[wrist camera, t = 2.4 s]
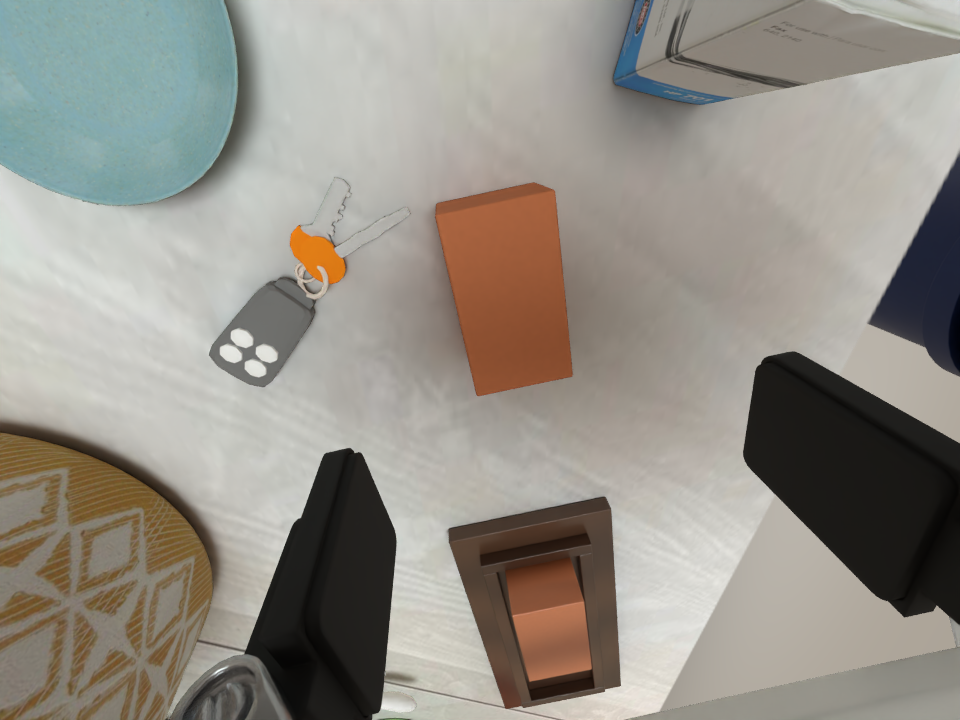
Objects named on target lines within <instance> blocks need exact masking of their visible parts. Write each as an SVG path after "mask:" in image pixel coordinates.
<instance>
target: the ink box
mask: <svg viewBox="0 0 960 720" xmlns="http://www.w3.org/2000/svg"><path fill="white" fill-rule="evenodd" d="M957 53H960V0H636V2H635V5H634V9H633V12H632V16H631V19H630V23H629V26H628V30H627V33H626V36H625V40H624V43H623V47H622V50H621V54H620V57H619V60H618V64H617V67H616V71H615V74H614V78H613V80H614V82H615V84H616V85H619V86H622V87H626V88H629V89H633V90H636V91H640V92H644V93H647V94H651V95H655V96H659V97H663V98H667V99H671V100H676V101H681V102H686V103H693V104H699V105H700V104H708V103H714V102H719V101H723V100H728V99H733V98H739V97H744V96H749V95H754V94H759V93H764V92H769V91H774V90H779V89H784V88H790V87H795V86H800V85H806V84H810V83H815V82H819V81H824V80H829V79H834V78H838V77H843V76H848V75H853V74H858V73H863V72H868V71H872V70H877V69H881V68H886V67H891V66H896V65H902V64H908V63H912V62H917V61H922V60H927V59H932V58H937V57H942V56H947V55H952V54H957Z"/></svg>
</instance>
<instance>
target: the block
mask: <svg viewBox="0 0 960 720" xmlns="http://www.w3.org/2000/svg"><path fill="white" fill-rule="evenodd" d="M435 218H436V223H437V227H438V231H439V236H440V240H441V244H442V249H443V253H444V257H445V261H446V266H447V270H448V274H449V279H450V283H451V287H452V292H453V296H454V300H455V304H456V309H457V313H458V317H459V322H460V326H461V330H462V335H463V339H464V343H465V348H466V352H467V356H468V360H469V365H470V369H471V373H472V378H473V382H474V386H475V391H476V395H477V396H482V395H486V394H491V393H496V392H501V391H506V390H510V389H515V388H520V387H525V386H529V385H534V384H539V383H544V382H549V381H553V380H558V379H563V378H568V377H572V375H573V373H572V362H571V352H570V341H569V331H568V321H567V310H566V300H565V290H564V279H563V269H562V259H561V248H560V238H559V228H558V217H557V207H556V197H555V191H554V190H553V189H550V188H548V187H545V186H542V185H540V184H537V183H534V182H533V183H529V184H524V185H520V186H515V187H510V188H506V189H501V190H496V191H492V192H487V193H482V194H478V195H473V196H468V197H464V198H459V199H455V200H450V201H445V202H441V203H437V204H436V214H435Z"/></svg>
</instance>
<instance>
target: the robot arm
mask: <svg viewBox="0 0 960 720" xmlns="http://www.w3.org/2000/svg"><path fill="white" fill-rule="evenodd" d="M743 456H744V460H745V462H746V464H747V466H748V467H749V468H750V469H751V470H752V471H753V472H754V473H755V474H756V475H757V476H758V477H759V478H760V479H761V480H762V481H763V482H764V483H765V484H766V485H767V486H768V487H769V488H770V489H771V490H772V492H773V493H774V494H775V495H776V496H777V497H779V499H780V500H781V501H783V503H784V504H785V505H786V506H787V507H788V508H789V509H790V510H791V511H792V512H793V513H794V514H795V515H796V516H797V517H798V518H799V519H800V520H801V521H802V522H803V523H804V524H805V525H806V526H807V527H808V528H809V529H810V530H811V531H812V532H813V533H814V534H815V535H816V536H817V537H818V538H819V539H820V540H821V541H822V542H823V543H824V544H825V545H826V546H827V547H828V548H829V549H830V550H831V551H832V552H833V553H834V554H835V555H836V556H837V557H838V558H839V559H840V560H841V561H842V562H843V563H844V564H845V565H846V567H848V568H849V570H851V572H852V573H853V574H854V575H855V576H856V577H858V579H859V580H860V581H861V582H862V583H863V584H865V586H866V587H867V588H868V589H869V590H870V591H871V592H872V593H874V594H875V595H876V596H877V597H879V598H880V599H882V600H886V601H888V602H890V603H891V604H892V606H894V608H895V609H897V611H898V612H900V613H901V614H902V615H903V616H904V617H909V616H913V615H918V614H922V613H927V612H931V611H934V609H935V607H936V605H937V606H938V607H939V608H941V609H942V610H943V611H944V612H945V613H946V614H947V615H948V616H949V618H950V623H951V626H952V631H953V635H954V639H955V643H956V648H952V649H947V650H942V651H938V652H933V653H929V654H924V655H919V656H914V657H910V658H905V659H900V660H896V661H891V662H886V663H881V664H877V665H872V666H867V667H863V668H858V669H853V670H849V671H844V672H840V673H835V674H830V675H826V676H821V677H816V678H812V679H807V680H803V681H798V682H794V683H789V684H784V685H780V686H775V687H771V688H766V689H762V690H757V691H752V692H748V693H744V694H739V695H734V696H730V697H725V698H721V699H716V700H712V701H707V702H703V703H698V704H693V705H689V706H684V707H680V708H675V709H671V710H667V711H662V712H657V713H653V714H648V715H644V716H639V717H635V718H630V719H626V720H960V443H958V442H956V441H954V440H952V439H951V438H949V437H947V436H946V435H944V434H942V433H940V432H938V431H937V430H935V429H933V428H931V427H930V426H928V425H926V424H924V423H922V422H921V421H919V420H917V419H915V418H914V417H912V416H910V415H908V414H907V413H905V412H903V411H901V410H899V409H898V408H896V407H894V406H892V405H891V404H889V403H887V402H885V401H883V400H882V399H880V398H878V397H876V396H875V395H873V394H871V393H869V392H867V391H865V390H864V389H862V388H860V387H858V386H857V385H855V384H853V383H851V382H850V381H848V380H846V379H844V378H842V377H841V376H839V375H837V374H835V373H834V372H832V371H830V370H828V369H826V368H825V367H823V366H821V365H819V364H818V363H816V362H814V361H812V360H810V359H809V358H807V357H805V356H803V355H802V354H800V353H797V352H786V353H781V354H777V355H772V356H768V357H766V358H764V359H763V360H762V362H761V365H759V366H758V367H757V368H756V371H755V377H754V384H753V391H752V397H751V404H750V410H749V417H748V424H747V430H746V437H745V444H744V450H743ZM395 556H396V534H395V530H394V527H393V525H392V522H391V520H390V518H389V515H388V513H387V511H386V508H385V506H384V504H383V501H382V499H381V497H380V494H379V492H378V490H377V487H376V485H375V483H374V480H373V478H372V476H371V473H370V471H369V469H368V466H367V464H366V462H365V459H364V457H363V455H362V454H361V453H360V452H358V453H354V451H353V450H352V449H351V448H347V449H342V450H338V451H333V452H329V453H326V454H324V456H323V458H322V461H321V463H320V466H319V469H318V472H317V475H316V477H315V480H314V483H313V486H312V489H311V492H310V494H309V497H308V500H307V503H306V506H305V508H304V511H303V514H302V517H301V518H300V519H298V520H297V521H296V522H294V524H293V526H292V528H291V530H290V533H289V536H288V538H287V541H286V544H285V546H284V549H283V552H282V554H281V557H280V560H279V563H278V565H277V568H276V571H275V573H274V576H273V579H272V581H271V584H270V587H269V589H268V592H267V595H266V597H265V600H264V603H263V606H262V608H261V611H260V614H259V616H258V619H257V622H256V624H255V627H254V630H253V632H252V635H251V638H250V640H249V643H248V646H247V649H246V651H245V654H244V655H237V656H233V657H231V658H228V659H226V660H224V661H221V662H219V663H218V664H216V665H215V666H214V667H212V668H211V669H209V670H208V671H207V672H205V673H204V674H203V675H202V676H201V677H200V678H199V679H198V680H197V681H196V682H195V683H194V684H193V685H192V686H191V687H190V688H189V689H188V691H187V692H186V693H185V695H184V696H183V697H182V699H181V700H180V701H179V703H178V704H177V705H176V707H175V709H174V711H173V713H172V715H171V717H170V719H169V720H372V714H376V713H379V711H380V709H381V705H382V698H383V687H384V676H385V665H386V654H387V643H388V632H389V621H390V610H391V599H392V589H393V578H394V567H395Z"/></svg>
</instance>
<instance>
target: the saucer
mask: <svg viewBox="0 0 960 720" xmlns="http://www.w3.org/2000/svg"><path fill="white" fill-rule="evenodd" d="M237 94H238V68H237V54H236V46H235V41H234V35H233V31H232V27H231V23H230V19H229V15H228V12H227V8H226V5H225V2H224V0H0V164H1V165H3V166H4V167H6V168H8V169H9V170H11V171H12V172H14V173H16V174H18V175H20V176H21V177H23V178H25V179H27V180H29V181H31V182H33V183H35V184H37V185H39V186H42V187H44V188H46V189H48V190H51V191H54V192H56V193H59V194H62V195H64V196H68V197H71V198H74V199H80V200H82V201H85V202H89V203H94V204H97V205H98V204H103V205H112V206H126V205H128V206H130V205H141V204H146V203H153V202H156V201H159V200H163V199H165V198H169V197H171V196H173V195H176V194H178V193H179V192H182V191H183V190H185V189H186V188H188V187H189V186H191V185H192V184H193V183H195V182H196V181H198V180H199V179H200V178H202V177H203V176H204V175H205V173H206V172H207V171H208V169H209V168H210V167H212V165H213V163H214V161H215V160H216V159H217V157H218V156H219V154H220V152H221V151H222V149H223V147H224V145H225V143H226V140H227V138H228V135H229V132H230V130H231V126H232V123H233V119H234V114H235V108H236V101H237Z"/></svg>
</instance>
